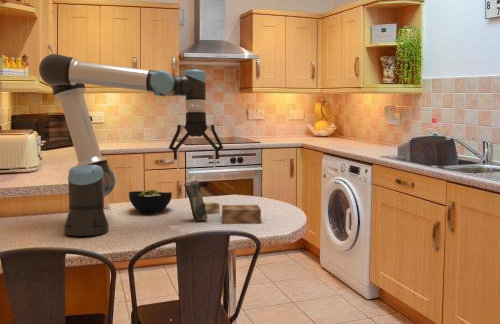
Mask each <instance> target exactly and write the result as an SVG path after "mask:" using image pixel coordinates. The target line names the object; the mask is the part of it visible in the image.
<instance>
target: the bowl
mask: <svg viewBox="0 0 500 324" xmlns="http://www.w3.org/2000/svg"><path fill="white" fill-rule="evenodd" d="M172 194H173V192H171V191H169V192H167V191H166V192H165V191H164V192H162V191H160V192H159V191H158V190H156V189H150V190H148V189H144V190H143V191H142V190H140V191H137V190H136V191H129V192H128V198H129V201H130V203H131V205H132V206H133V207H134V208H135V210H137V212H138V213H140V214H143V215H154V214H156V215H157V214H159V213H162V212H163V211H164V210H165V208H167V207H168V205H169V204H170V202H171V200H172V196H173V195H172Z"/></svg>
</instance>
